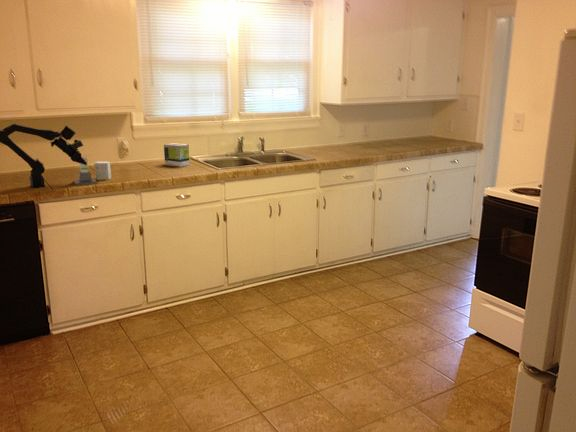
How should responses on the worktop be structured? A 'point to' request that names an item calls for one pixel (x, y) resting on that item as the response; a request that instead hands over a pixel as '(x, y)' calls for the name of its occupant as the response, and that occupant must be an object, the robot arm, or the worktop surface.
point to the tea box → (176, 154)
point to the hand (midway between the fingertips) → (86, 163)
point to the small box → (102, 170)
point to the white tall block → (84, 166)
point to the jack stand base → (85, 179)
